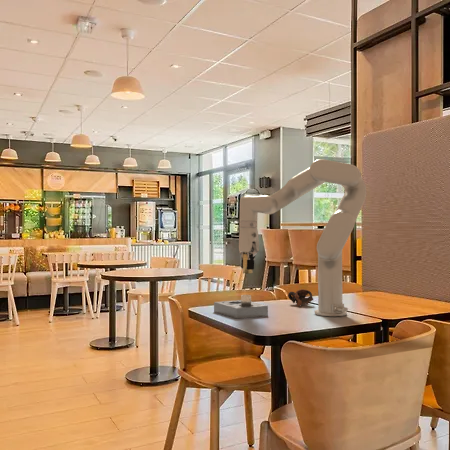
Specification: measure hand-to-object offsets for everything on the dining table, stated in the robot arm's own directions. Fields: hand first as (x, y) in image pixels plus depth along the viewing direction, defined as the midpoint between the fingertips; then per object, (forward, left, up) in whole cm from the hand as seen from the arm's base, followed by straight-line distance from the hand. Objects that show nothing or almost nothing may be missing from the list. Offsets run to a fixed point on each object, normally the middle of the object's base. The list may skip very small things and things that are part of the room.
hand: (247, 268), depth 198 cm
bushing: (0, 0, -2) cm, 2 cm away
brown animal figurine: (+4, -30, -18) cm, 35 cm away
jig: (-3, +6, -18) cm, 19 cm away
